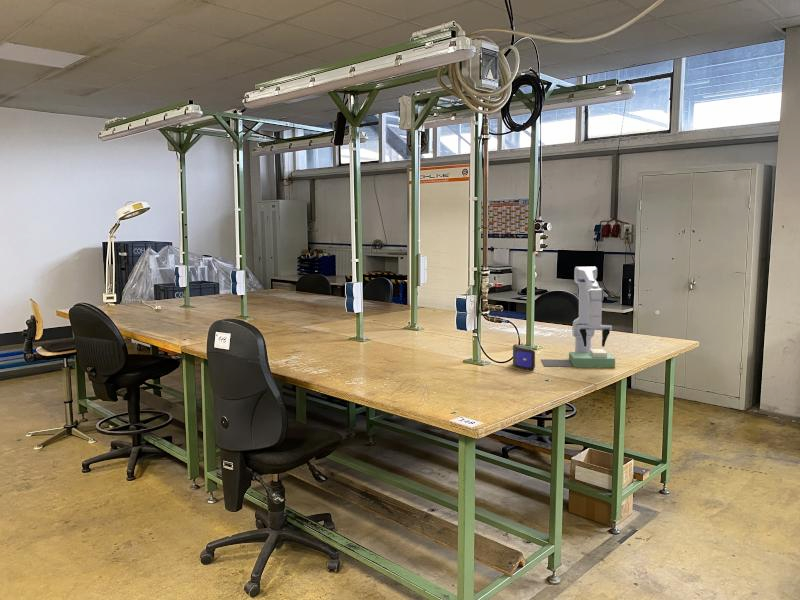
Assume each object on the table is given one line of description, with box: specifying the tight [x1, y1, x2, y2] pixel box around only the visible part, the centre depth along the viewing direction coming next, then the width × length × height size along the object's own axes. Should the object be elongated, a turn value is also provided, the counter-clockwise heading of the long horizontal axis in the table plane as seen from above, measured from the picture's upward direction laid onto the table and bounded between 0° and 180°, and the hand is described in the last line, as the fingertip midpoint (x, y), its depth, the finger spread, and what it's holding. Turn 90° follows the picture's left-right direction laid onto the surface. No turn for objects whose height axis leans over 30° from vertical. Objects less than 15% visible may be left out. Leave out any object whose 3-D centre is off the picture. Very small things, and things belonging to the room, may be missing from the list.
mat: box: [540, 358, 574, 368], centre depth 283 cm, size 14×13×1 cm
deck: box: [568, 351, 616, 368], centre depth 281 cm, size 14×18×4 cm
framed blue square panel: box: [512, 343, 536, 371], centre depth 277 cm, size 16×5×9 cm, turn 21°
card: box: [590, 348, 608, 357], centre depth 280 cm, size 9×6×2 cm, turn 172°
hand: (594, 346), depth 271 cm, fingers open, 7 cm apart
